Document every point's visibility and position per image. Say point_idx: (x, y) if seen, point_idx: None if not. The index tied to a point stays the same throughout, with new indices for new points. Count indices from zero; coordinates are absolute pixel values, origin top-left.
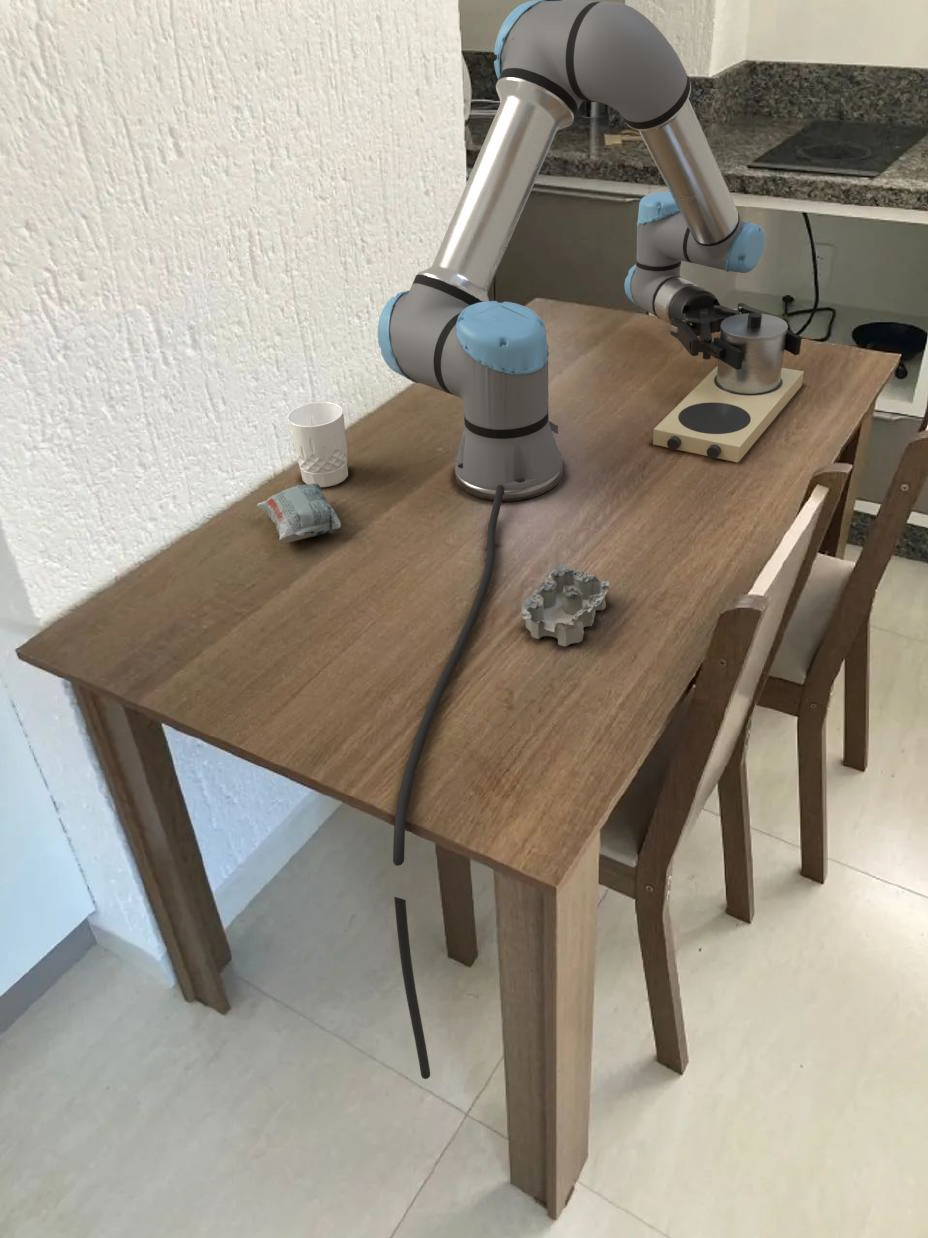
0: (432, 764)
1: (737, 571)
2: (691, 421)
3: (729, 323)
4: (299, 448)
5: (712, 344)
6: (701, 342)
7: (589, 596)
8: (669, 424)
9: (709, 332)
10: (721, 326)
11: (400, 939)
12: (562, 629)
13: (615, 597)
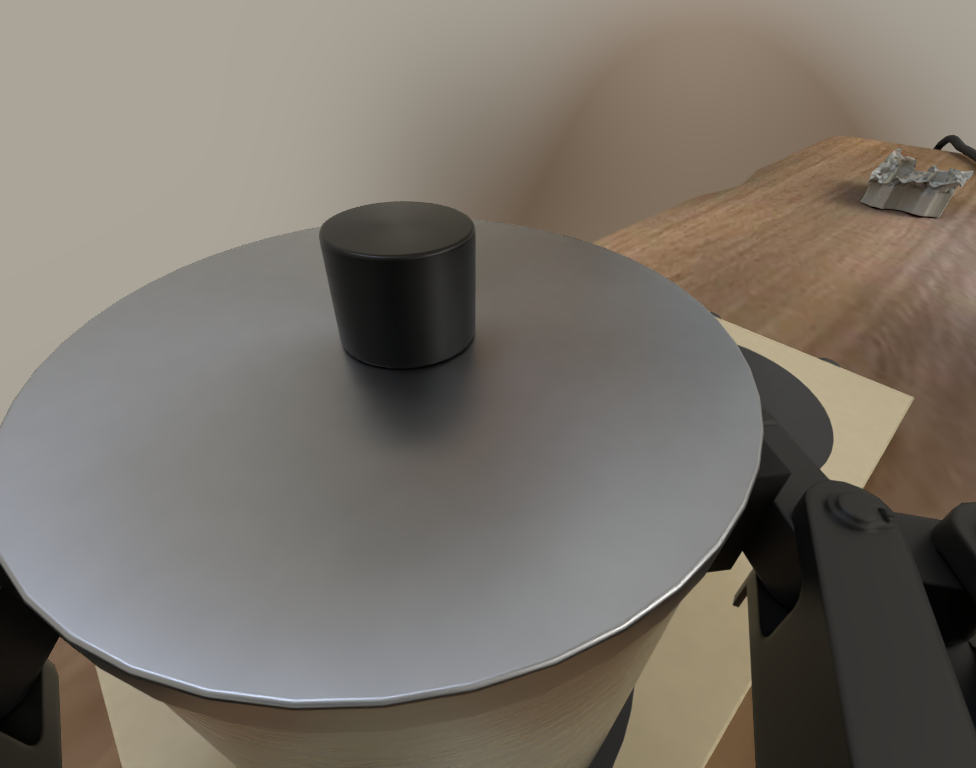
0: (958, 162)
1: (700, 204)
2: (778, 397)
3: (642, 429)
4: None
5: (783, 462)
6: (905, 533)
7: (890, 173)
8: (859, 404)
9: (855, 671)
10: (755, 399)
11: None
12: (905, 166)
13: (851, 206)
